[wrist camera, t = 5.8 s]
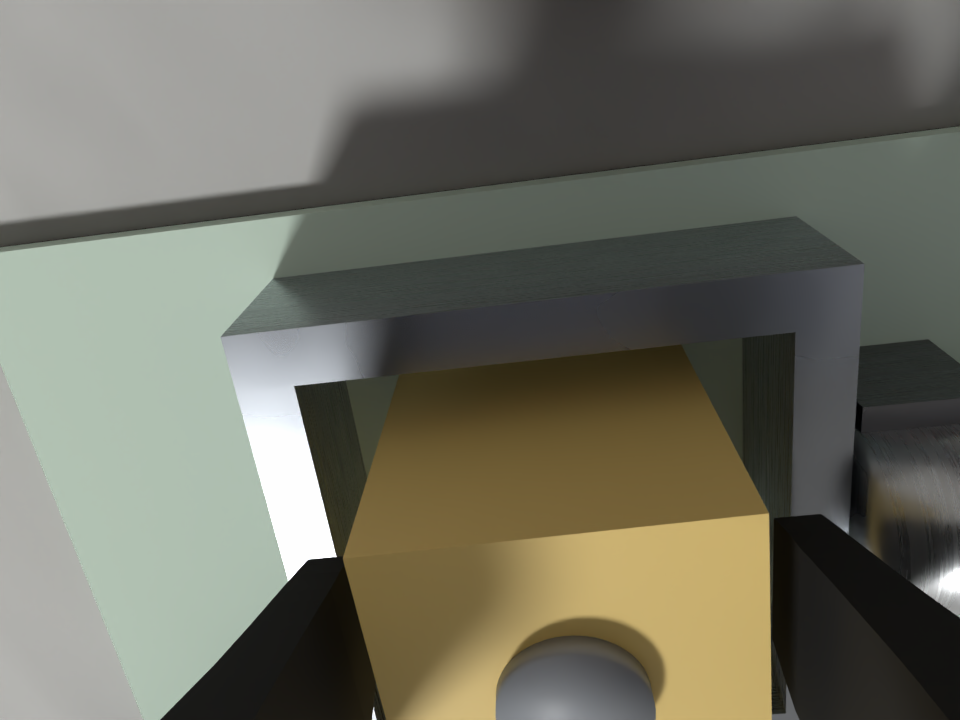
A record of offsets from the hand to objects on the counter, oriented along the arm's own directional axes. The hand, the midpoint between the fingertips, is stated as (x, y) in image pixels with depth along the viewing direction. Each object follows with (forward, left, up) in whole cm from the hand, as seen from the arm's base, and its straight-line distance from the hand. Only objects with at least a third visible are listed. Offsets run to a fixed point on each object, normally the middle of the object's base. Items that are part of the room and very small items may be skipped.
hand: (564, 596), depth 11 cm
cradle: (0, 0, -4) cm, 4 cm away
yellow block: (0, 0, -3) cm, 3 cm away
